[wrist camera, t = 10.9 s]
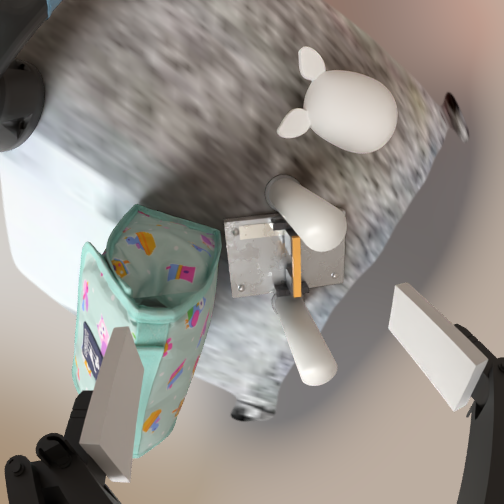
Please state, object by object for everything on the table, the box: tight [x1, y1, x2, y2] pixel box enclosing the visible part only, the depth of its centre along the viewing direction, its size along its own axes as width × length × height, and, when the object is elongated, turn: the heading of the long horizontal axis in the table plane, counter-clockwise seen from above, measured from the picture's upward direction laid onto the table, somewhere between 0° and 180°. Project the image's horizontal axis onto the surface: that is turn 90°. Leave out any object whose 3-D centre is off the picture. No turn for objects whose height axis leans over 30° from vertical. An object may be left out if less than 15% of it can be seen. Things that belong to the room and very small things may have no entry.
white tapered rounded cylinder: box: [272, 294, 337, 386], centre depth 44 cm, size 5×5×18 cm
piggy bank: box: [277, 47, 398, 154], centre depth 37 cm, size 12×12×15 cm
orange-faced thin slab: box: [284, 229, 301, 298], centre depth 45 cm, size 1×9×4 cm, turn 4°
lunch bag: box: [72, 204, 222, 458], centre depth 36 cm, size 23×16×27 cm
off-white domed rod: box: [265, 175, 347, 252], centre depth 38 cm, size 5×5×18 cm
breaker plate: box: [224, 208, 345, 298], centre depth 47 cm, size 18×12×4 cm, turn 94°
